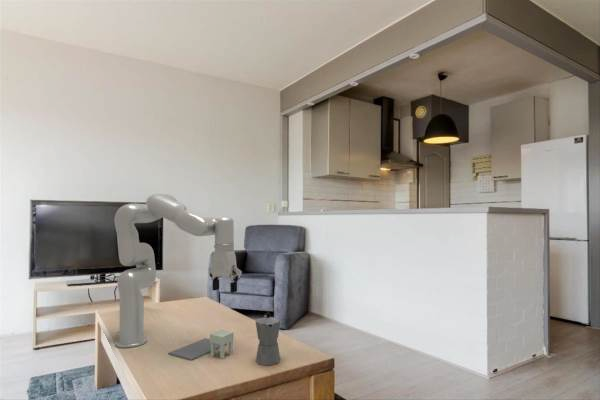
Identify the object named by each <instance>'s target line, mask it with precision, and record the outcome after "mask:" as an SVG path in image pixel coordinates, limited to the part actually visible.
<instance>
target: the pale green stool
mask: <svg viewBox="0 0 600 400" xmlns="http://www.w3.org/2000/svg"><path fill="white" fill-rule="evenodd" d="M234 336H235V335H234V331H228V330H223V329H220V330H218V331H215V332H213V333H210V334H209V339H210V342H211V352H210V357H215V356H216V350H215V343H216V344H219V349H218V350H219V359H221V360H223V359H225V353H226V352H225V350H226V349H225V347H226V346H225V344H226V343H228V345H227V346H228V350H227V351H228V356H229V355H230V356H232V355H233V354H234V346H233V345H234V338H235V337H234Z"/></svg>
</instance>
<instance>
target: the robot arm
mask: <svg viewBox="0 0 600 400" xmlns="http://www.w3.org/2000/svg"><path fill="white" fill-rule="evenodd" d="M162 218H164V219H166V220H168V221H170V222H172V223H173V224H175V226H176V227H177V228H178V229H180V230H181V231H183V232H186V233H188V234H190V235H192V236H195V237H205V236H206V237H209V236H214V246H213V248H214V251H213V253H212V258H211V267H208V269H207V271H208V273H209V276H210V280H211V281H212V291H218V290H220V279H219V278H228V279H229V280H230V281H231V282H230V283H229V285H230V293H236V292H238V282H239V280H240V279H241V276H242V274H243V271H242V270H241V269H239V268H238V266H237V257H236V252H235V239H234V238H235V237H234V236H235V230H234V225H235V224H234V219H233V218H232V217H213V216H212V217H210V216H208V217H201V216H197V215H194V214H192V213H191V212H188V211H187V207H186V205H185V204H184V203H181V202H178V200H177V199H176V197H174V195H171V194H165V193H164V194H163V193H153V194H152V195H149V196H148V197H147V198H146V201H145V203H128V204H127V203H126V204H123V205H122V206H120V207H119V208H118V209H117V211H116V213H115V215H114V226H115V232H116V238H117V239H116V240H117V250H118V251H117V252H118V259H119V263H120V264H121V265H123V266H125V267H132V266H136V267H134V268H130V269H125V270H124V271H123V272H121V273H120V274H119V276H117V281H116V283H117V284H116V285H117V290H118V293H119V295H118V296H119V329H118V331H119V332H116V333H115V335H116V337H118V339H117V340H115V342H114V343H115V347H118V348H124V349H125V348H135V347H139V346H142V345H144V344H146V343H147V342H148V337H147V336H145V334H144V331H145V330H144V327H145V325H144V324H145V323H144V319H145V318H144V314H145V311H144V310H145V302H144V301H145V300H144V296H143V294H142V291H141V290H142V289H146V288H149V287H151V286H153V285H154V283H155V281H156V278H157V270H156V261H155V260H156V258H155V253H154V248H152V246H151V245H150V244H148V243H146V242H140V238H139V237H140V236H139V232H138V230H137V228H136V226H135V224H148V223H153V222H155V221H157V220H161V219H162Z"/></svg>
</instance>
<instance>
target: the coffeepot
mask: <svg viewBox="0 0 600 400" xmlns="http://www.w3.org/2000/svg"><path fill="white" fill-rule="evenodd" d="M280 326H281V319H279V318H278V317H273V316H272V317H271V312H265V313H264V314H263V317H261V318H257V319H256V321H255V327H256V334H257V339H258V341H259V342H258V344H257V345H258V346H257V351H256V359H255V362H256V364H258V365H260V366H265V367H267V366H268V367H269V366H274V365H277V364H279V363H280V361H281V354H280V348H279V344H278V338H279V333H280V332H279V331H280Z"/></svg>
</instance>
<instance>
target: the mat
mask: <svg viewBox="0 0 600 400" xmlns="http://www.w3.org/2000/svg"><path fill="white" fill-rule="evenodd" d="M226 346H228V343H226V344H225V347H226ZM216 350H219V344H216V343H215V351H216ZM167 353H168V354H167V355H170V356H173V357H176V358H180V359H184V360H188V361H191V362H192V361H194V360H196V359H199V358H201V357H203V356H205V355H207V354H211V342H210V338H207V337H206V338H205V337H204V338H203V339H199V340H197V341H194V342H192V343H189V344H186V345H185V346H182V347H179V348H177V349H174V350H171V351H169V352H167Z"/></svg>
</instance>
